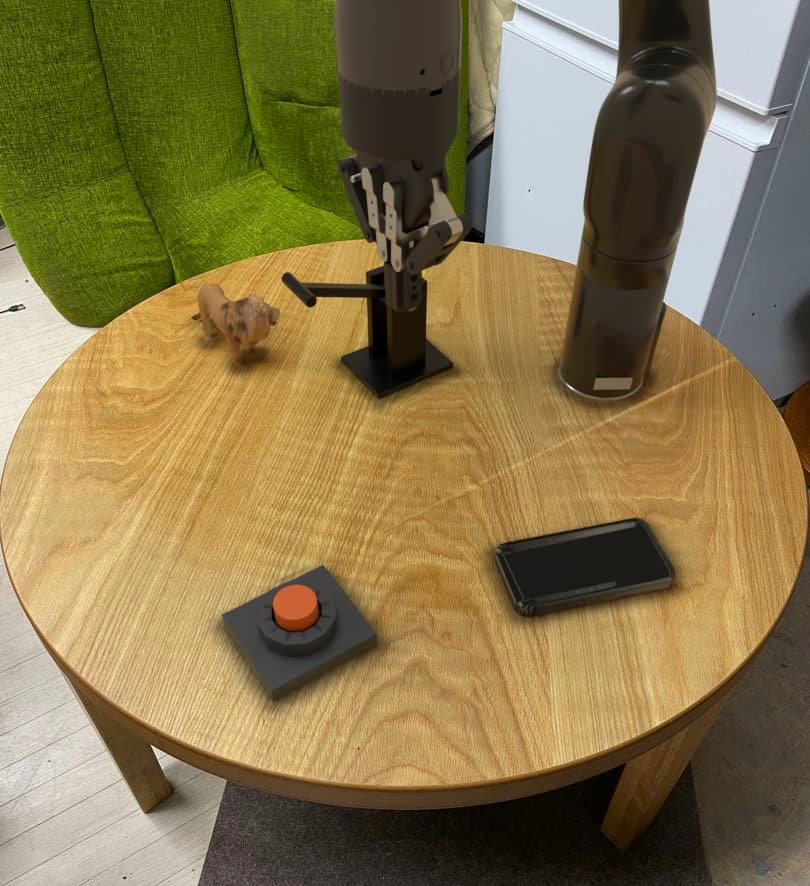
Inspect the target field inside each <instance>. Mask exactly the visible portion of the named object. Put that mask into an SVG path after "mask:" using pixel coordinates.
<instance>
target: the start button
mask: <svg viewBox="0 0 810 886" xmlns="http://www.w3.org/2000/svg"><path fill="white" fill-rule="evenodd" d="M273 608H274V613H275V618H276V621H277V623H278V624H279V625H280V626H281V627H282V628H283V629H285V630H288V631H293V632H297V631H303V630H306V629H308V628H309V627H311V626H312V625H313V624H314V623H315V622H316V620H317V618H318V614H319V611H318V603H317V597H316V594H315V593H314V592H313V591H312V590H311V589H310V588H308V587H306V586H303V585H290V586H287V587H285V588H283V589H281V590H280V591H279V592H278V593H277V594H276V596H275V598H274V600H273Z"/></svg>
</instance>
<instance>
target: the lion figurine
mask: <svg viewBox="0 0 810 886" xmlns="http://www.w3.org/2000/svg"><path fill="white" fill-rule="evenodd" d="M197 306H198V311H199V312H198V313H195V314H194V315H192V316H191V317H190V318H191V319H192V320H193V321H199V320H202V331H203V339H204V341H206V342H211V341H213V339H214V338H213V337H212V334H211V330H210V320H212V321H213V322H214V324H215V325H216V327H217V328H218V329H219V330H220V331H221V332H222V333H223V334H224V335H225V337H226V339H227V343H228V346H229V350H230V353H231V356H232V360H233V363H234V364H236V365H240V364H241V363H243V362H244V359H243V357H242V355H241V350H240V347H245V348H246V352H247V354H249V355H250V354H257V353H258V350H257V349H255V346H256V345H258V344H259V343H260V342H261V341H265V340H266V339H267V338H269V336H270V334H271V331H272V328H271V327H276V326H277V325H278V321H280V315H281V309H279V308H277V307H273V306H271V305H270V304H269V303H267V302H265V300H264V297H262V296H260V295H258V294H254V295H248V296H244V297H243V298H240V299H238V300H230V299H229V298H228V297H227V296H226V295H225V291H224V289H223V288H222V286H220V285H219V284H217V283H214V282H213V283H212V282H211V283H209V282H205V283H203V285H202V286H201V287H200V289H199V290H198V294H197Z"/></svg>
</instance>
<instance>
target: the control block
mask: <svg viewBox="0 0 810 886" xmlns="http://www.w3.org/2000/svg"><path fill="white" fill-rule="evenodd" d="M336 580H337V579H336V578H334V577H333V575H332V574H331V573H330V571H329V570H328V569H327V568H326V566H325V565H324V564H321V565H319V566H317V567H315V568H313V569H311V570H309V571H307V572H305V573H303V574H301V575H299V576H297V577H295V578H293V579H290V580H288V581H285V582H283V583H281V584H279V585H277V586H275V587H273V588H271V589H269V590H268V591H266V592H264V593H263V594H260V595H258V596H256V597H254V598H252V599H251V600H248V601H247V602H244V603H242V604H241V605H238V606H236V607H234V608H232V609H230V610H228V611H225V612H224V613H222V614H221V618H222V622H223V625H224V628H225V629H226V631H227V633H229V635H230V637H231V638H232V640H233V642H234V644H235V645H236V646H237V648H238V650H239V651H240V653H241V654H242V655H243V657H244V658H245V660H246V662H247V664H248V665H249V667H250V668H251V670H252V671H253V672H254V674H255V676H256V678H257V679H258V680H259V683H261V686H262V687H263V688H264V690H265V691H266V693H267V695H268V696H269V697H270V699H271V700H272V702H273V703H274V702H276V701H278V700H279V699H281V698H283V697H285V696H286V695H287V696H288V694H290V693H292V692H294V691H296V690H298V689H299V688H302V687H303V686H305V685H306V684H309V683H311V682H313V681H314V680H316V679H318V678H320V677H321V676H324V675H325V674H327V673H329V672H331V671H333V670H334V669H336V668H338V667H339V666H342V665H344V664H345V663H348V661H351V660H353V659H354V658H356V657H359V656H360V655H362V654H364V653H366V652H367V651H369V650H370V649H372V648H374V647H377V646H378V633H377V632H376V631H375V630H374V628H373V627H372V625H371V624H370V623H369V621H368V620H367V619H366V617H364V615H363V614H362V613H361V612H360V610H359V608H358V607H357V606H356V605H355V604H354V602H353V601H352V600H351V598H350V597H349V596H348V594H346V592H345V591H344V589H343V588H342V587H341V585H340V584H339V583H338V581H336ZM290 585H303V586H306V587H308V588H310V589H311V590H312V591H313V592H314V593H315V594H316V597H317V603H318V611H319V614H318V618H317V620H316V622H315V623H314V624H313V625H312V626H311V627H309V628H308V629H306V630H303V631H297V632H293V631H288V630H285V629H283V628H282V627H281V626H280V625H279V624H278V623H277V621H276V618H275V613H274V608H273V600H274V598H275V596H276V594H277V593H278V592H279V591H280V590H281V589H283V588H285V587H287V586H290Z"/></svg>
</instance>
